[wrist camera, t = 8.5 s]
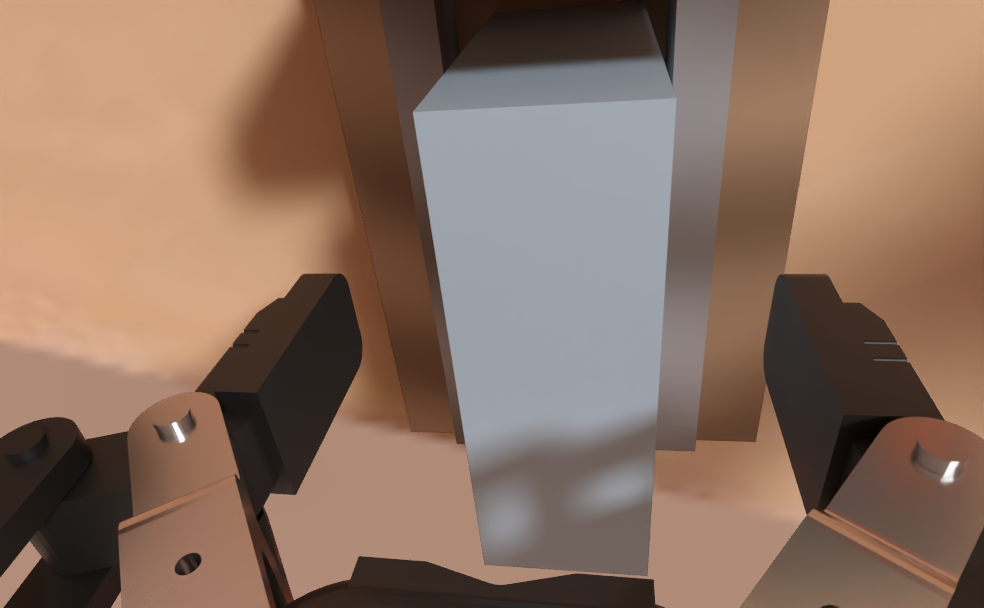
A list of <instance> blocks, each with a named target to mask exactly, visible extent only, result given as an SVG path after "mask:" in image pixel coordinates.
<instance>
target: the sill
mask: <svg viewBox="0 0 984 608" xmlns="http://www.w3.org/2000/svg"><path fill="white" fill-rule="evenodd" d="M635 1H644V4H645V7H646V10H647V13H648V16H649V19H650V22H651V25H652V28H653V31H654V34H655V37H656V40H657V42H658V45H659V48H660V51H661V54H662V57H663V60H664V63H665V66H666V69H667V72H668V75H669V78H670V81H671V83H672V86H673V89H674V92H675V95H676V98H677V99H676V116H675V132H674V148H673V165H672V181H671V198H670V214H669V230H668V247H667V263H666V279H665V296H664V312H663V328H662V345H661V361H660V377H659V394H658V410H657V427H656V443H655V450H672V451H695V444H696V440H712V441H746V442H756V437H757V432H758V426H759V420H760V414H761V408H762V402H763V396H764V390H765V384H766V380H765V375H764V366H763V352H764V343H765V337H766V332H767V326H768V320H769V315H770V309H771V303H772V298H773V292H774V287H775V283H776V280H777V277H778V276H779V275H780V274H784V270H785V264H786V258H787V252H788V246H789V240H790V234H791V228H792V222H793V217H794V211H795V205H796V199H797V193H798V187H799V181H800V175H801V169H802V163H803V157H804V151H805V145H806V139H807V133H808V127H809V121H810V115H811V109H812V103H813V97H814V91H815V85H816V79H817V73H818V67H819V61H820V55H821V49H822V43H823V37H824V31H825V25H826V19H827V13H828V8H829V2H830V0H314V5H315V9H316V13H317V18H318V22H319V27H320V31H321V36H322V40H323V44H324V49H325V53H326V58H327V62H328V66H329V71H330V75H331V80H332V84H333V89H334V93H335V97H336V102H337V106H338V111H339V115H340V119H341V124H342V128H343V133H344V137H345V142H346V146H347V150H348V155H349V159H350V164H351V168H352V173H353V177H354V181H355V186H356V190H357V195H358V199H359V203H360V208H361V212H362V217H363V221H364V226H365V230H366V234H367V239H368V243H369V248H370V252H371V256H372V261H373V265H374V270H375V274H376V279H377V283H378V287H379V292H380V296H381V301H382V305H383V309H384V314H385V318H386V323H387V327H388V332H389V336H390V340H391V345H392V349H393V354H394V358H395V362H396V367H397V371H398V376H399V380H400V385H401V389H402V393H403V398H404V402H405V407H406V411H407V415H408V420H409V424H410V429H411V432H439V433H455V436H456V441H457V444H465V438H464V432H463V425H462V419H461V413H460V407H459V400H458V394H457V388H456V381H455V375H454V369H453V362H452V356H451V350H450V343H449V337H448V331H447V325H446V318H445V312H444V306H443V299H442V293H441V287H440V280H439V274H438V268H437V261H436V255H435V249H434V242H433V236H432V230H431V224H430V217H429V211H428V205H427V198H426V192H425V186H424V179H423V173H422V167H421V160H420V154H419V148H418V142H417V135H416V129H415V123H414V116H413V111H414V110H415V109H416V108H417V106H418V105H419V104H420V103H421V101H422V100H423V99H424V98H425V97H426V95H427V94H428V93H429V92H430V90H431V89H432V88H433V87H434V85H435V84H436V83H437V82H438V81H439V79H440V78H441V77H442V76H443V74H444V73H445V72H446V71H447V69H448V68H449V67H450V66H451V64H452V63H453V62H454V61H455V60H456V58H457V57H458V56H459V55H460V53H461V52H462V51H463V50H464V48H465V47H466V46H467V45H468V44H469V42H470V41H471V40H472V39H473V37H474V36H475V35H476V34H477V32H478V31H479V30H480V29H481V28H482V26H483V25H484V24H485V23H486V21H487V20H488V19H489V18H490V16H491V15H492V14H493V13H494V12H506V11H519V10H532V9H545V8H558V7H571V6H583V5H596V4H609V3H622V2H635Z"/></svg>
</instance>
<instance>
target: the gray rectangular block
mask: <svg viewBox="0 0 984 608" xmlns="http://www.w3.org/2000/svg"><path fill="white" fill-rule="evenodd" d="M676 99H677V98H676V95H675V92H674V89H673V86H672V83H671V81H670V78H669V75H668V72H667V69H666V66H665V63H664V60H663V57H662V54H661V51H660V48H659V45H658V42H657V40H656V37H655V34H654V31H653V28H652V25H651V22H650V19H649V16H648V13H647V10H646V7H645V4H644V1H635V2H622V3H609V4H596V5H583V6H571V7H558V8H545V9H532V10H519V11H506V12H494V13H493V14H492V15H491V16H490V18H489V19H488V20H487V21H486V23H485V24H484V25H483V26H482V28H481V29H480V30H479V31H478V32H477V34H476V35H475V36H474V37H473V39H472V40H471V41H470V42H469V44H468V45H467V46H466V47H465V48H464V50H463V51H462V52H461V53H460V55H459V56H458V57H457V58H456V60H455V61H454V62H453V63H452V64H451V66H450V67H449V68H448V69H447V71H446V72H445V73H444V74H443V76H442V77H441V78H440V79H439V81H438V82H437V83H436V84H435V85H434V87H433V88H432V89H431V90H430V92H429V93H428V94H427V95H426V97H425V98H424V99H423V100H422V101H421V103H420V104H419V105H418V106H417V108H416V109H415V110H414V111H413V116H414V123H415V129H416V135H417V142H418V148H419V154H420V160H421V167H422V173H423V179H424V186H425V192H426V198H427V205H428V211H429V217H430V224H431V230H432V236H433V242H434V249H435V255H436V261H437V268H438V274H439V280H440V287H441V293H442V299H443V306H444V312H445V318H446V325H447V331H448V337H449V343H450V350H451V356H452V362H453V369H454V375H455V381H456V388H457V394H458V400H459V407H460V413H461V419H462V425H463V432H464V438H465V444H466V451H467V457H468V462H469V470H470V476H471V482H472V488H473V494H474V501H475V507H476V514H477V520H478V526H479V533H480V539H481V545H482V551H483V558H484V564H485V565H498V566H513V567H526V568H541V569H555V570H569V571H571V570H572V571H584V572H599V573H613V574H628V575H643V576H647V573H648V556H649V541H650V524H651V508H652V492H653V476H654V459H655V443H656V427H657V410H658V394H659V377H660V361H661V345H662V328H663V312H664V296H665V279H666V263H667V247H668V230H669V214H670V198H671V181H672V165H673V148H674V132H675V116H676Z"/></svg>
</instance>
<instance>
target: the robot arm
mask: <svg viewBox="0 0 984 608" xmlns="http://www.w3.org/2000/svg"><path fill="white" fill-rule="evenodd" d="M896 342H897V341H896V340H895V338H894V336H893V335H892V333H891V331H890V330H889V328H888V326H887V325H886V323H885V321H884V320H882V319H881V318H880V317H878V316H877V315H876V314H874V313H873V312H872V311H870V310H869V309H867V308H866V307H865V306H863V305H862V304H861V303H843V302H842V300H841V298H840V297H839V295H838V293H837V291H836V289H835V287H834V285H833V284H832V282H831V280H830V278H829V277H828V276H827V275H826V274H780V275H779V276H778V277H777V280H776V283H775V287H774V292H773V298H772V303H771V309H770V315H769V320H768V326H767V332H766V337H765V343H764V352H763V366H764V375H765V380H766V383H767V386H768V390H769V393H770V396H771V400H772V403H773V406H774V409H775V413H776V416H777V419H778V422H779V426H780V429H781V432H782V435H783V439H784V442H785V445H786V448H787V452H788V455H789V458H790V462H791V465H792V468H793V471H794V475H795V478H796V481H797V484H798V488H799V491H800V494H801V497H802V501H803V504H804V507H805V511H806V514H807V516H806V517H805V519H804V520H803V521H802V523H801V524H800V525H799V527H798V528H797V529H796V531H795V532H794V534H793V535H792V536H791V538H790V539H789V541H788V542H787V543H786V545H785V546H784V547H783V549H782V550H781V552H780V553H779V554H778V556H777V557H776V558H775V560H774V561H773V563H772V564H771V565H770V567H769V568H768V570H767V571H766V572H765V574H764V575H763V576H762V578H761V579H760V581H759V582H758V583H757V585H756V586H755V587H754V589H753V590H752V592H751V593H750V594H749V596H748V597H747V598H746V600H745V601H744V603H743V604H742V605H741V607H740V608H984V440H983V439H982V438H980V437H979V436H978V435H976V434H974V433H972V432H971V431H969V430H967V429H965V428H963V427H960V426H958V425H955V424H953V423H950V422H947V421H945V420H944V418H943V417H942V415H941V414H940V412H939V410H938V409H937V407H936V405H935V404H934V402H933V400H932V399H931V397H930V395H929V394H928V392H927V390H926V389H925V387H924V386H923V384H922V382H921V381H920V379H919V377H918V376H917V374H916V372H915V371H914V369H913V367H912V366H911V364H910V363H907V358H906V356H905V354H904V353H903V351H902V349H901V348H900V346H899V345H896ZM361 359H362V338H361V333H360V329H359V325H358V321H357V317H356V313H355V310H354V306H353V302H352V298H351V294H350V290H349V286H348V282H347V280H346V278H345V277H344V276H343V275H342V274H303V275H302V276H301V277H300V278H299V279H298V281H297V282H296V283H295V284H294V286H293V287H292V288H291V290H290V291H289V292H288V294H287V295H286V296H285V298H278V299H277V300H275V301H274V302H272V303H271V304H269V305H268V306H267V307H265V308H264V309H262V310H261V311H259V312H258V313H257V314H256V315H255V316H254V318H253V319H252V320H251V321H250V323H249V324H248V325H247V326H246V328H245V329H244V333H241V334H240V335H239V337H238V338H237V339H236V340H235V342H234V343H233V347H230V348H229V349H228V350H227V352H226V353H225V354H224V355H223V357H222V358H221V359H220V361H219V362H218V363H217V364H216V366H215V367H214V368H213V369H212V371H211V372H210V373H209V374H208V376H207V377H206V378H205V379H204V381H203V382H202V383H201V385H200V386H199V387H198V388H197V390H196V391H195V392H189V393H183V394H178V395H175V396H172V397H169V398H166V399H164V400H162V401H160V402H158V403H156V404H154V405H153V406H151V407H149V408H148V409H147V410H145V411H144V412H143V413H142V414H141V415H140V416H139V417H138V418H136V420H135V421H134V422H133V424H132V425H131V427H130V429H129V431H127V432H122V433H117V434H112V435H107V436H102V437H97V438H91V439H86V440H85V438H84V436H83V435H82V433H81V432H80V430H79V428H78V427H77V425H76V424H75V423H74V422H73V421H72V420H70V419H67V418H61V417H54V418H46V419H41V420H38V421H34V422H32V423H29V424H26V425H23V426H21V427H19V428H17V429H15V430H13V431H11V432H9V433H8V434H6V435H5V436H3V437H2V438H0V577H1V576H2V575H3V573H4V572H5V571H6V570H7V568H8V567H9V566H10V564H11V563H12V562H13V561H14V560H15V558H16V557H17V556H18V554H19V553H20V552H21V551H22V549H23V548H24V547H25V546H26V544H27V543H28V542H29V541H30V542H31V543H32V544H33V546H34V547H35V548H36V550H37V551H38V552H39V553H40V555H41V556H42V558H41V559H40V560H39V562H38V563H37V564H36V566H35V567H34V568H33V570H32V571H31V572H30V574H29V575H28V576H27V578H26V579H25V580H24V582H23V583H22V584H21V585H20V587H19V588H18V589H17V591H16V592H15V594H14V595H13V596H12V597H11V599H10V600H9V601H8V603H7V604H6V605H5V607H4V608H111V606H112V605H113V603H114V601H115V600H116V598H117V596H118V595H119V593H120V592H121V595H122V608H664V607H662V606H659V605H656V604H655V595H654V580H652V579H639V578H627V577H614V576H601V575H588V574H571V575H564V576H558V577H552V578H545V579H539V580H533V581H526V582H520V583H514V584H507V585H494V584H490V583H487V582H484V581H481V580H478V579H476V578H473V577H470V576H467V575H464V574H461V573H458V572H455V571H452V570H449V569H447V568H444V567H441V566H438V565H435V564H432V563H429V562H425V561H411V560H399V559H386V558H374V557H362V556H359V558H358V560H357V563H356V566H355V568H354V571H353V574H352V577H351V579H350V580H346V581H341V582H338V583H334V584H331V585H327V586H325V587H322V588H319V589H317V590H314V591H312V592H309V593H307V594H306V595H304V596H302V597H300V598H298V599H296V600H294V599H293V596H292V593H291V590H290V587H289V584H288V581H287V578H286V574H285V571H284V568H283V564H282V561H281V558H280V555H279V552H278V548H277V545H276V542H275V538H274V535H273V532H272V529H271V525H270V522H269V519H268V516H267V513H266V511H265V509H264V507H263V506H264V504H265V502H266V500H267V498H268V497H269V495H270V493H275V494H290V495H296V493H297V491H298V489H299V487H300V485H301V483H302V481H303V479H304V477H305V475H306V473H307V471H308V469H309V467H310V465H311V463H312V461H313V459H314V457H315V455H316V453H317V451H318V449H319V447H320V445H321V443H322V441H323V439H324V437H325V435H326V433H327V431H328V429H329V427H330V425H331V423H332V421H333V419H334V417H335V415H336V413H337V411H338V409H339V407H340V405H341V403H342V401H343V399H344V397H345V395H346V393H347V391H348V389H349V387H350V385H351V383H352V381H353V379H354V377H355V375H356V373H357V371H358V369H359V367H360V364H361Z"/></svg>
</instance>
